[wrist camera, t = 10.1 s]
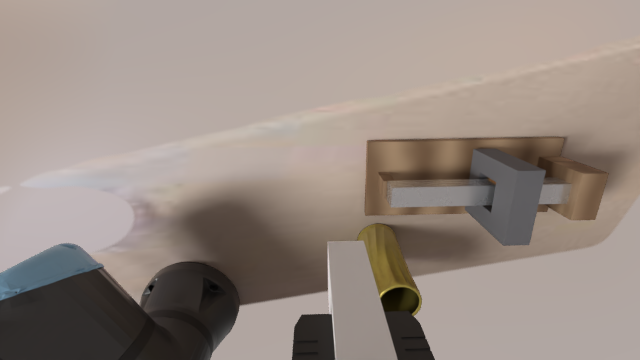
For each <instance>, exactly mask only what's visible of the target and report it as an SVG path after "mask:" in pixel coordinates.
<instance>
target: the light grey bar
mask: <svg viewBox="0 0 640 360" xmlns="http://www.w3.org/2000/svg"><path fill="white" fill-rule="evenodd" d="M571 186H572V184H571V183H568V182H566V181H564V180H562V179H559V178H557V177H547V178H544V181H543V186H542V190H541V195H540V199H539V204H567V202H568V198H569V194H570V190H571ZM495 187H496V182H495V181H493V180H492V179H490V178H489V177H487V179H451V180H403V181H388V183H387V201H388V203H389V205H390V207H438V206H484V205H492V204H493V198H494V192H495Z"/></svg>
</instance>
